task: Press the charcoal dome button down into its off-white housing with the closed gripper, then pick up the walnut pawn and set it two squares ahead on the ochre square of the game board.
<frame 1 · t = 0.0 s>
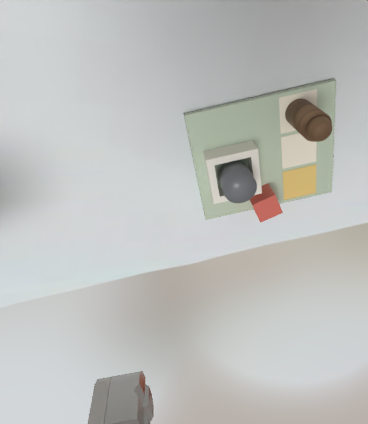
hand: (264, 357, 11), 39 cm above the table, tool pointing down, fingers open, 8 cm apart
housing: (230, 167, 50), resting on board
dome: (236, 181, 46), point 5 cm above the table, slide at 0.0 cm
red cube: (261, 196, 53), point 1 cm above the table, touching board
board: (262, 154, 50), on the table
pawn: (298, 112, 46), point 1 cm above the table, touching board
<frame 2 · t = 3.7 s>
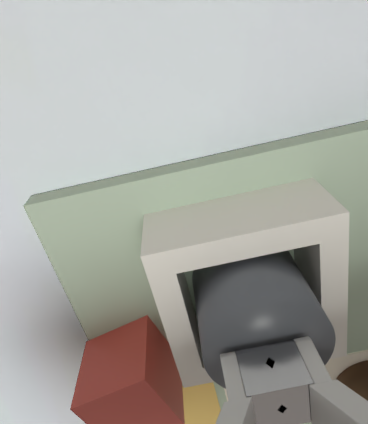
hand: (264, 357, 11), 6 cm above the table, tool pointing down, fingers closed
housing: (239, 264, 16), resting on board
dome: (254, 308, 13), point 4 cm above the table, slide at 1.4 cm
red cube: (134, 349, 18), point 1 cm above the table, touching board
board: (256, 324, 19), on the table
pawn: (364, 381, 20), point 1 cm above the table, touching board
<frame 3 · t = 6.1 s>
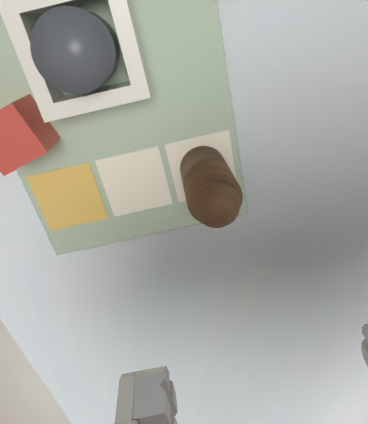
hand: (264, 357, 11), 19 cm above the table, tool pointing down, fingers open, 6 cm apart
housing: (87, 49, 23), resting on board
dome: (79, 50, 21), point 4 cm above the table, slide at 1.6 cm
red cube: (26, 127, 25), point 1 cm above the table, touching board
board: (118, 118, 26), on the table
pawn: (202, 168, 27), point 1 cm above the table, touching board
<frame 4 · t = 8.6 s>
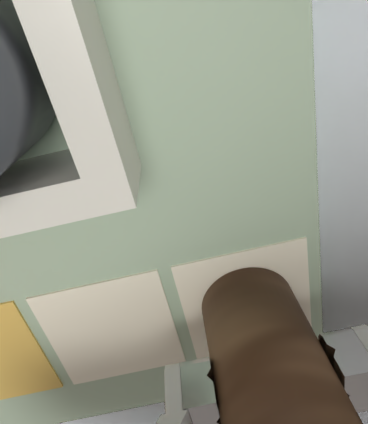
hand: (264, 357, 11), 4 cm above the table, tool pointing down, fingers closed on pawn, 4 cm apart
board: (72, 212, 12), on the table
pawn: (247, 304, 14), point 1 cm above the table, touching board, gripper
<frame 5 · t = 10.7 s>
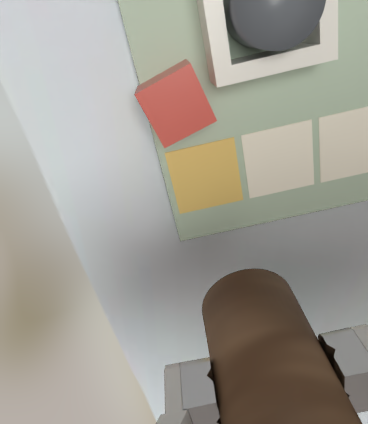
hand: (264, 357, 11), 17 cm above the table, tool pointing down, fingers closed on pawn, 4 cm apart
housing: (256, 7, 21), resting on board
dome: (269, 3, 18), point 4 cm above the table, slide at 1.6 cm
red cube: (174, 97, 23), point 1 cm above the table, touching board
board: (268, 88, 24), on the table
pawn: (247, 305, 14), point 15 cm above the table, touching gripper
when the fingers open (4 cm above the table, at t = 13.2 s): pawn stays where it is, resting on board.
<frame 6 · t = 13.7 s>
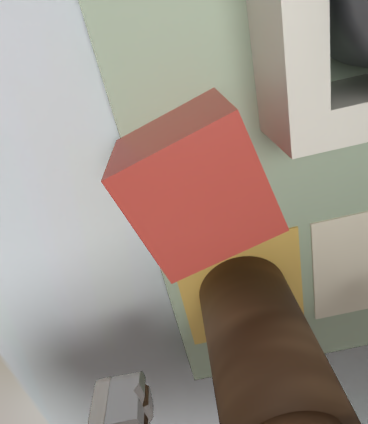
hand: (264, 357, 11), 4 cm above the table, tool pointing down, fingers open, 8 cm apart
red cube: (188, 161, 12), point 1 cm above the table, touching board
board: (363, 138, 13), on the table
pawn: (242, 291, 14), point 1 cm above the table, touching board
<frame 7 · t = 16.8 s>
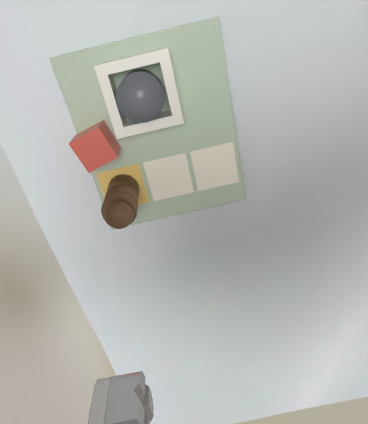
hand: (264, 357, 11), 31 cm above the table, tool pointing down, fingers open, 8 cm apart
housing: (142, 91, 36), resting on board
dome: (141, 95, 34), point 4 cm above the table, slide at 1.6 cm
red cube: (98, 141, 38), point 1 cm above the table, touching board
board: (158, 134, 39), on the table
pawn: (123, 188, 41), point 1 cm above the table, touching board
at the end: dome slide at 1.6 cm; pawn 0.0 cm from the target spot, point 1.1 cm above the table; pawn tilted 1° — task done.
